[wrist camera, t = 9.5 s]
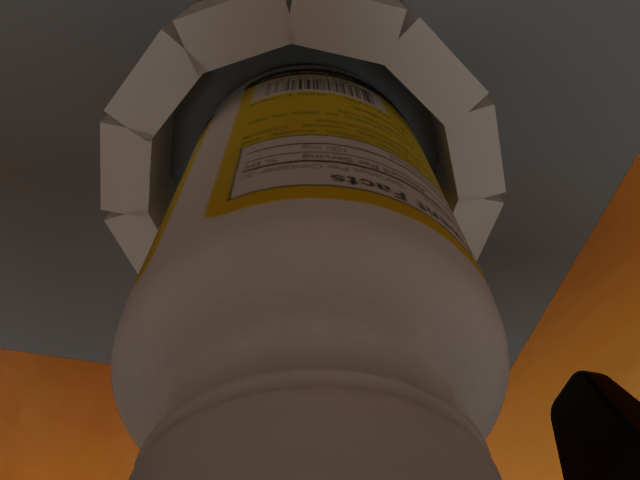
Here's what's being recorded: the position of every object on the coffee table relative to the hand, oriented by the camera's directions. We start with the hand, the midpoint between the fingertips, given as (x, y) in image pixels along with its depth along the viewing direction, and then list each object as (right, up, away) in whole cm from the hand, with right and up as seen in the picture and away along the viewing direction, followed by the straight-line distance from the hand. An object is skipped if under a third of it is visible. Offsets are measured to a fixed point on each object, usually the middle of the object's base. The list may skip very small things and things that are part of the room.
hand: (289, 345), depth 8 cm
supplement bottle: (0, +3, +5) cm, 6 cm away
